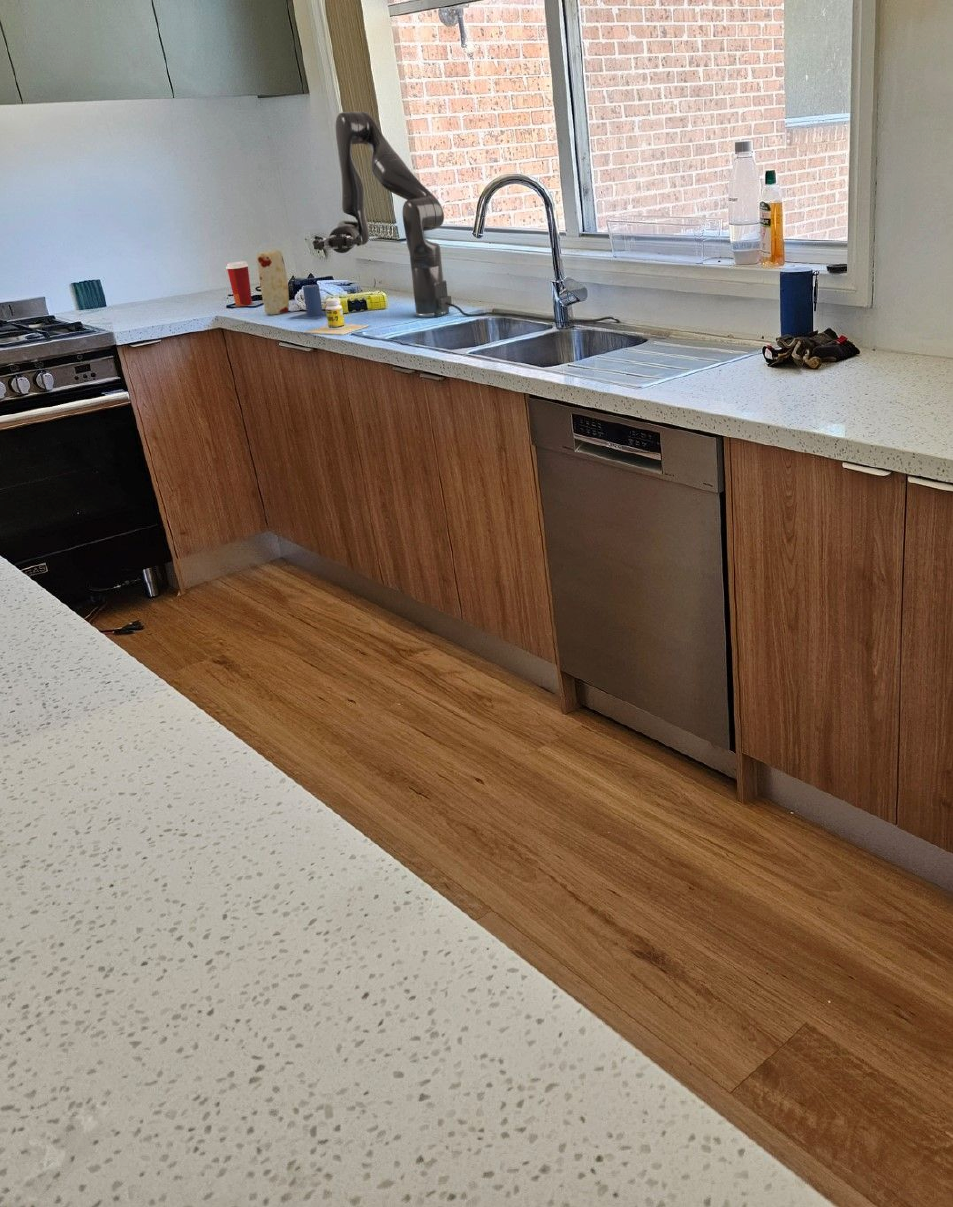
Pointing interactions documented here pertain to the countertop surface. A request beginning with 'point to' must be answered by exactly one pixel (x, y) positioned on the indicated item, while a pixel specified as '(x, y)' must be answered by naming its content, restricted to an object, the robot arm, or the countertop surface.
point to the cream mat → (345, 330)
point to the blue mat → (304, 316)
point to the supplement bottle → (334, 314)
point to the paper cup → (240, 282)
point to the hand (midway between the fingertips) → (333, 245)
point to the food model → (273, 282)
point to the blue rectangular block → (312, 300)
